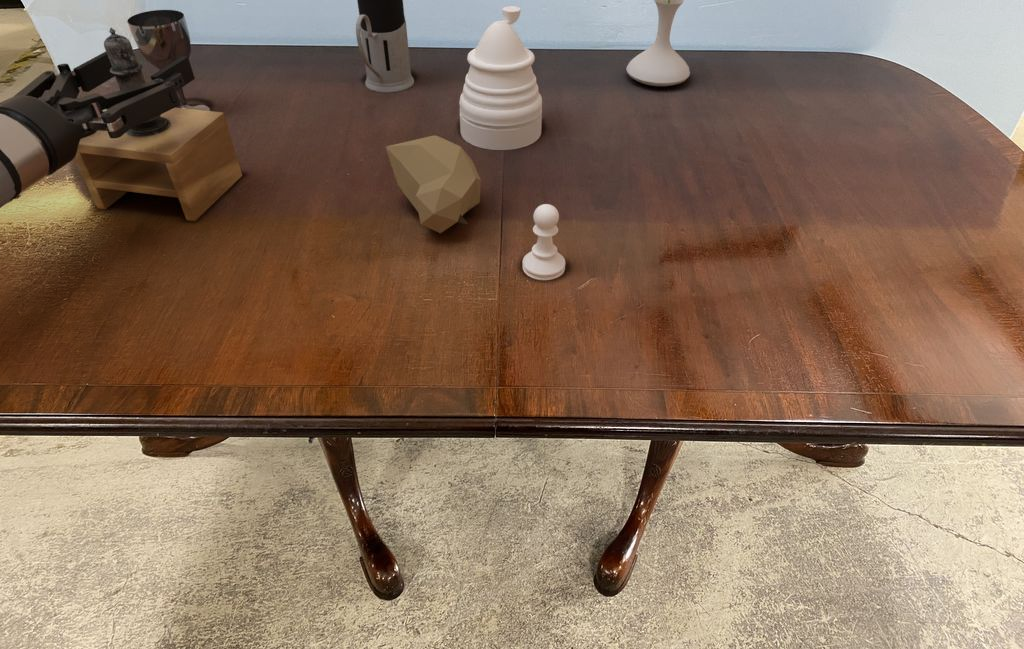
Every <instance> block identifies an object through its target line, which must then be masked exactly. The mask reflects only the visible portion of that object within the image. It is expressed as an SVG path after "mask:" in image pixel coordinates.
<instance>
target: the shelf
mask: <svg viewBox="0 0 1024 649" xmlns="http://www.w3.org/2000/svg"><path fill="white" fill-rule="evenodd" d="M160 117H163V118H166V119H168V120H169V121H170V122H171V125H170V127H169V128H168V129H167V130H165V131H163V132H161V133H158V134H155V135H150V136H131V135H129V134H127V133H125V134H123V135H122V136H121V137H119V138H114V139H112V138H110V137H109V134H108V132H107V131H97V132H96V133H95V134H93V135H90V136H88V137H85V138H82V139H80V142H79V145H78V149H77V154H76V156H75V158H74V159H73V160H74V161H75V163H76V165H77V168H78V170H79V172H80V174H81V176H82V178H83V180H84V182H85V184H86V186H87V189H88V191H89V193H90V195H91V197H92V199H93V201H94V203H95V206H96V208H97V209H100V210H107V209H108V208H109V207H111V206H112V205H113V204H114V203H115V202H117V201H118V200H119V199H121V198H122V197H124V195H125V194H127V193H129V192H130V193H138V194H146V195H152V196H153V195H154V196H160V197H161V196H162V197H163V196H164V197H168V198H169V197H170V198H178V201H179V204H180V206H181V209H182V212H183V214H184V217H185V220H186V221H189V222H196V221H197V220H198V219H199V218H200V217H201V216H202V215H203V214H204V213H205V212H206V211H207V210H208V209H210V207H211V206H212V205H213V204H215V202H216V201H218V200H219V199H220V198H221V197H222V196H223V195H224V194H225V193H226V192H227V191H228V190H229V189H230V188H231V187H232V186H233V185H234V184H235V183H236V182H237V181H238V180H240V178H241V177H243V174H242V170H241V167H240V163H239V160H238V156H237V153H236V149H235V146H234V142H233V139H232V136H231V132H230V129H229V126H228V122H227V118H226V115H225V112H221V111H212V110H210V111H204V110H194V109H184V108H173V109H171V110H169V111H167V112H165V113H163V114H161V115H160Z"/></svg>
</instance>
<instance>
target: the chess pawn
mask: <svg viewBox="0 0 1024 649" xmlns="http://www.w3.org/2000/svg"><path fill="white" fill-rule="evenodd" d="M532 217H533V218H532V219H533V222H534V226H533V227H532V232H533V233H534V234H535V235H536V236H537V240H536V243H534V244H533V245H532V247H531V251H529V252H528V253H526V254H525V255H524V257H523V258H522V261H521V262H522V270H523V272H524V273H525V274H526V276H528V277H530V278H531V279H534V280H538V281H550V280H551V281H552V280H555V279H558V278H559V277H561V276H562V275H563V274H564V273H565V270H566V264H567V263H566V259H565V257H564V256H563V255H562V254H561V253H559V252H558V247H557V245H555V244H554V241H553V237H554V236H556V235H557V234H558V233H559V228H558V226H557V225H558V224H559V220H560V214H559V211H558V209H557V208H556V207H555V205H552V204H549V203H543V204H540V205H538V206H537V207H536V208H535V210H534V212H533V215H532Z"/></svg>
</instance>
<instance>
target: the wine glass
mask: <svg viewBox="0 0 1024 649" xmlns="http://www.w3.org/2000/svg"><path fill="white" fill-rule="evenodd" d="M126 22H127V25H128V28H129V31H130V34H131V36H132V39H133V41H134V43H135V44H136V47H137V48H138V50H139V52H140V53H141V55H142V56H143V58H144V59H145V60H146V61H147V62H148V63H150V64H151V65H152V66H153V67H155V68H157V70H158V71H160V70H161V69H163V68H165V67H166V66H168V65H169V64H171V63H173V62H174V61H176V60H177V59H179V58H181V57H182V56H184V57H188V58H189V59H190V56H191V53H192V52H191V51H192V50H191V49H192V48H191V46H192V45H191V36H190V31H189V27H188V23H187V19H186V16H185V14H184V13H183V12H182V11H179V10H174V9H154V10H148V11H143V12H140V13H136V14H134V15H131V16H130V17H129V18H127V21H126ZM183 88H184V87H182V88H181V89H179V90H178V91H177V94H178V97H179V100H180V103H181V105H179V106H178V107H175V108H184V109H194V110H204V111H211V108H210V106H209V107H208V106H207V105H204V104H200V103H189V104H188V102H187V99H186V97H185V94H184V89H183Z"/></svg>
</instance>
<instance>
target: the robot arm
mask: <svg viewBox="0 0 1024 649" xmlns="http://www.w3.org/2000/svg"><path fill="white" fill-rule="evenodd" d="M56 66H57V69H58V72H59V73H58V74H56V73H55V71H54V70H46V71H44V72H42V73H40V74H39V75H38V76H37V77H35V78H34V79H33V80H32V81H30V82H29V83H28V84H27V85H26V86H25V87H23V88H22V89H20V90H19V91H18V92H17V93H16V94H14V95H13V96H12V97H9V98H7V99H5V100H3V101H1V102H0V209H1V208H2V207H4V206H5V205H7V204H9V203H11V202H12V201H14V200H18V199H20V198H21V197H22V194H24V193H25V192H27V191H28V190H30V189H31V188H33V187H35V186H36V185H37V184H39V183H40V182H41V181H43V180H44V179H46V178H47V177H48V176H52V175H53V174H54V173H56V172H57V171H59V170H61V169H62V168H63V167H65V166H66V165H68V164H69V163H71V162H72V161H73V160H75V159H74V158H75V156H76V154H77V149H78V145H79V142H80V139H82V138H85V137H88V136H90V135H93V134H95V133H96V132H97V131H107V132H108V134H109V137H110V138H112V139H114V138H119V137H121V136H122V135H123V134H125V133H126V132H127V131H128V130H130V129H132V128H134V127H136V126H138V125H140V124H142V123H144V122H146V121H148V120H150V119H152V118H155V117H157V116H159V115H161V114H163V113H165V112H167V111H169V110H171V109H173V108H175V107H178V106H182V104H181V100H180V97H179V95H178V92H177V91H178V90H179V89H181V88H184V87H185V86H187V85H188V84H189V83H191V82H192V81H194V80H195V79H196V78H195V74H194V72H193V68H192V65H191V62H190V57H189V58H188V57H184V56H182V57H181V58H179V59H177V60H176V61H174V62H173V63H171V64H169V65H168V66H166V67H165V68H163V69H161V70H158V71H157V72H154V73H153V74H152V75H150V79H151V80H149V81H148V80H147V81H145V83H142V84H139V85H135V86H132V87H129V88H126V89H122V90H120V89H119V90H116V91H113V92H110V93H107V94H103V95H101V94H100V93H97V92H93V93H90V94H87V95H83V96H80V97H78V96H79V94H80V93H81V90H82V92H86V93H89V92H91V91H93V90H94V89H96V88H98V87H99V86H101V85H103V84H104V83H106V82H108V81H110V80H111V79H113V78H116V77H115V75H114V74H112V73H111V72H110V69H111V68H112V65H111V63H110V60H109V58H108V55H107V53H106V51H104V52H102V53H100V54H98V55H96V56H95V57H92V58H91V59H89V60H87V61H86V62H83V63H81V64H79V65H78V66H76V67H74V68H72V69H73V70H72V69H71V68H70V65H69V63H60V64H58V65H56ZM80 88H81V90H80ZM94 104H95V105H96V108H97V110H98V111H97V110H96V108H95V106H94ZM98 113H99V115H100V117H99V115H98Z"/></svg>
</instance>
